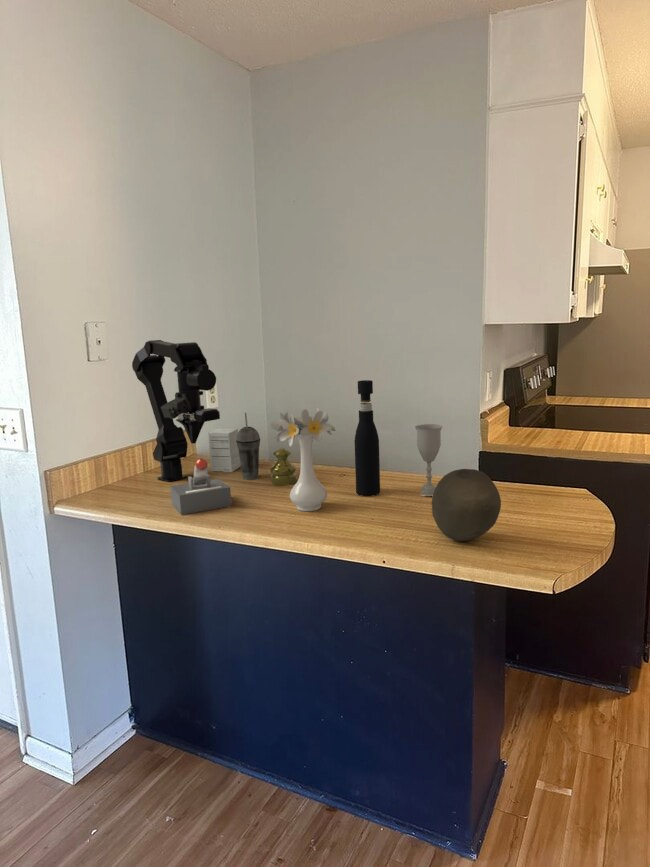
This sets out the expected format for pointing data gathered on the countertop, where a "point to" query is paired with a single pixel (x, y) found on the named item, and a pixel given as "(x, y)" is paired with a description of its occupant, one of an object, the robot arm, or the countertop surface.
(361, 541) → the countertop surface
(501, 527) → the countertop surface
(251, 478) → the beverage cup
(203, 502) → the switch box
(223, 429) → the supplement box
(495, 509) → the dark brown ball
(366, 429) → the black bottle
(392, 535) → the countertop surface
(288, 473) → the salt shaker
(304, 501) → the flower vase
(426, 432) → the chalice
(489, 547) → the countertop surface
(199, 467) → the switch lever
